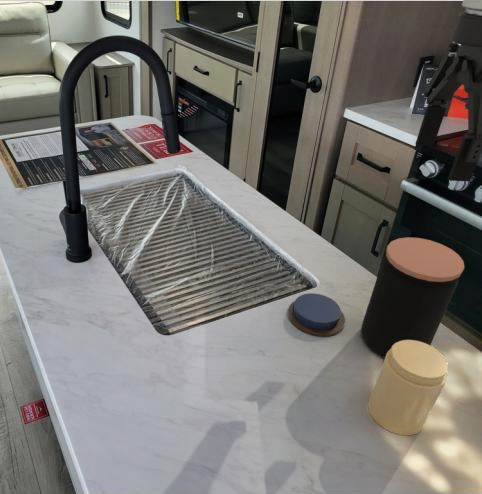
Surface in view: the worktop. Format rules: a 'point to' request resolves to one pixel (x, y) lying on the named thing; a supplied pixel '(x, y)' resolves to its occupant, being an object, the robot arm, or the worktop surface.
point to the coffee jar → (410, 293)
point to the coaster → (312, 331)
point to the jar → (408, 387)
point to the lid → (316, 311)
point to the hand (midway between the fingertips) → (440, 161)
